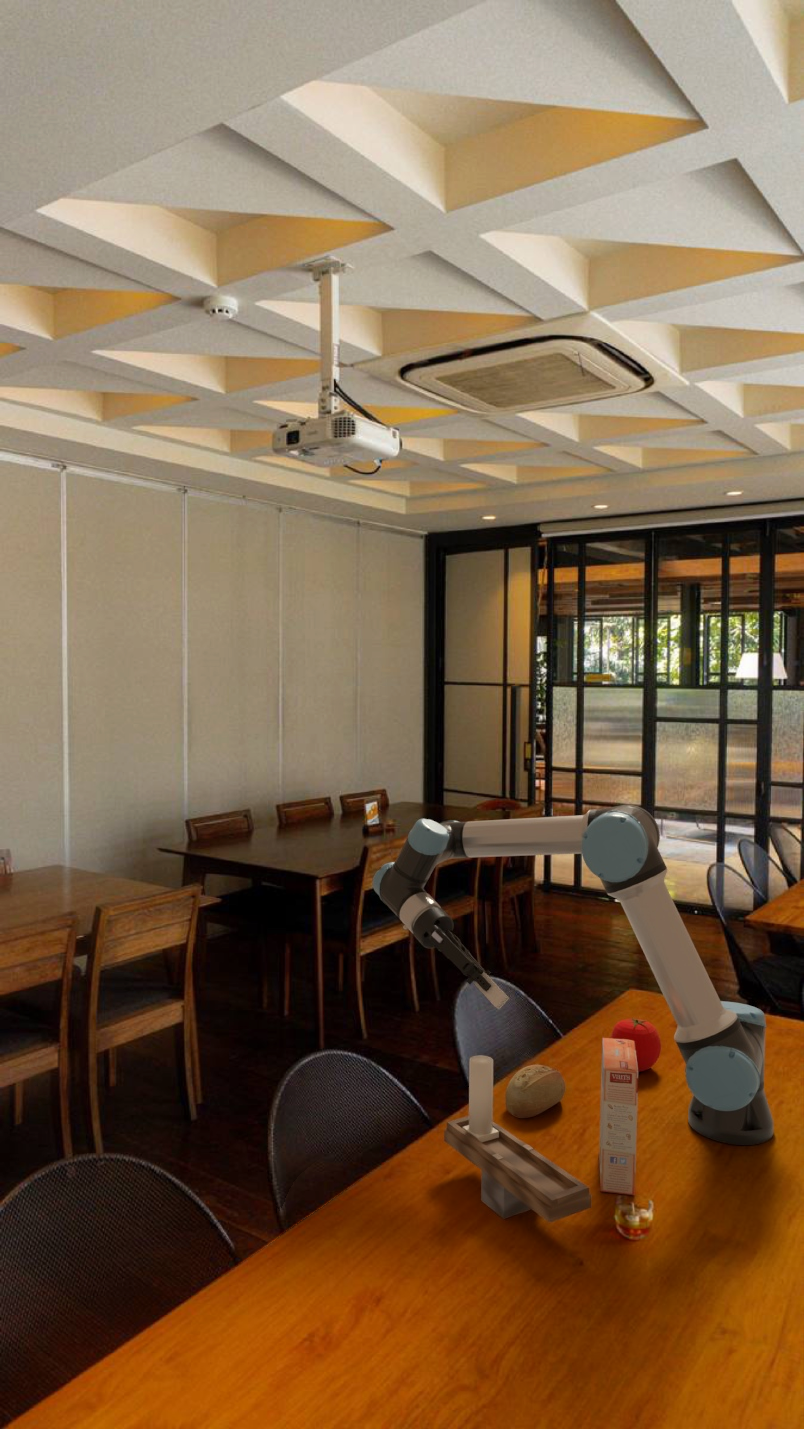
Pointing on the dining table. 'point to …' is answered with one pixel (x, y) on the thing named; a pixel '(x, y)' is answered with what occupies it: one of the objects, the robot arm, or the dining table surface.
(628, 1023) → the tomato
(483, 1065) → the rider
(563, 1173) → the beam
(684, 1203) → the dining table surface
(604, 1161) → the cracker box
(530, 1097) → the bread roll
